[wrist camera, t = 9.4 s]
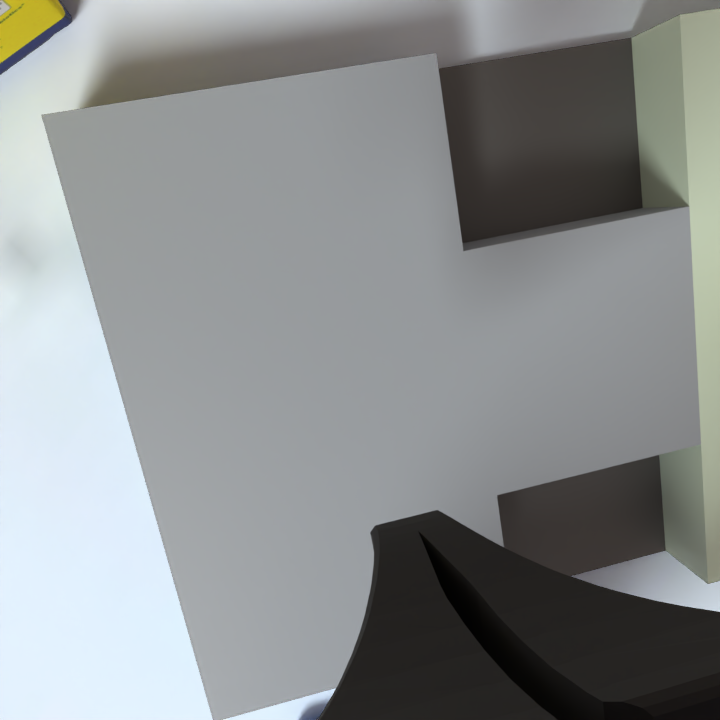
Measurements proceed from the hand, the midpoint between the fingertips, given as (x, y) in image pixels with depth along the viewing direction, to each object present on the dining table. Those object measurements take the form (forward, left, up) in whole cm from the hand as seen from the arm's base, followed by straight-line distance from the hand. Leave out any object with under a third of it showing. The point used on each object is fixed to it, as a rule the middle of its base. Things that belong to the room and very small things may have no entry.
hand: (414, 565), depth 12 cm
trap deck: (+1, -7, -9) cm, 12 cm away
